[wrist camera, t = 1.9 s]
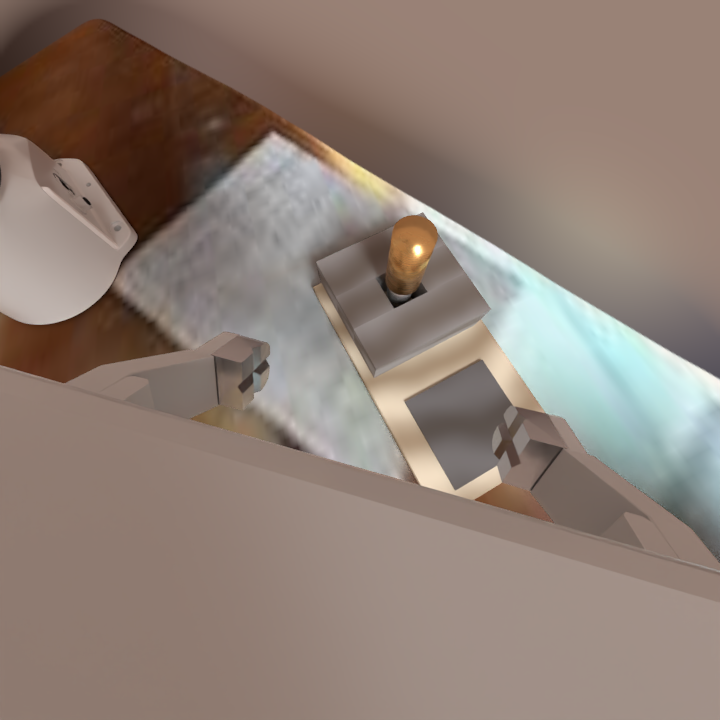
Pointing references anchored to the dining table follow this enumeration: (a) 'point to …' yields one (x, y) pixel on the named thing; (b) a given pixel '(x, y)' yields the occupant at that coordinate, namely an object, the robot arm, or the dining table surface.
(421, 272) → the amber rounded cylinder
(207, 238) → the dining table surface
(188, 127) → the dining table surface
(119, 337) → the dining table surface
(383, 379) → the stand
